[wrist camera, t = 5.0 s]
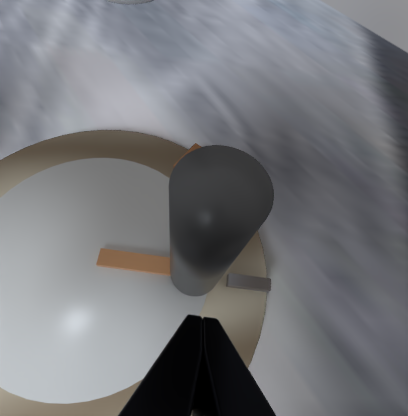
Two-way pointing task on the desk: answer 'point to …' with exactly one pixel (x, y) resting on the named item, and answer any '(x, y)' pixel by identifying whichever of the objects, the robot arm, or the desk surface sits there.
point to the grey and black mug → (129, 1)
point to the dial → (115, 265)
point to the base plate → (215, 300)
